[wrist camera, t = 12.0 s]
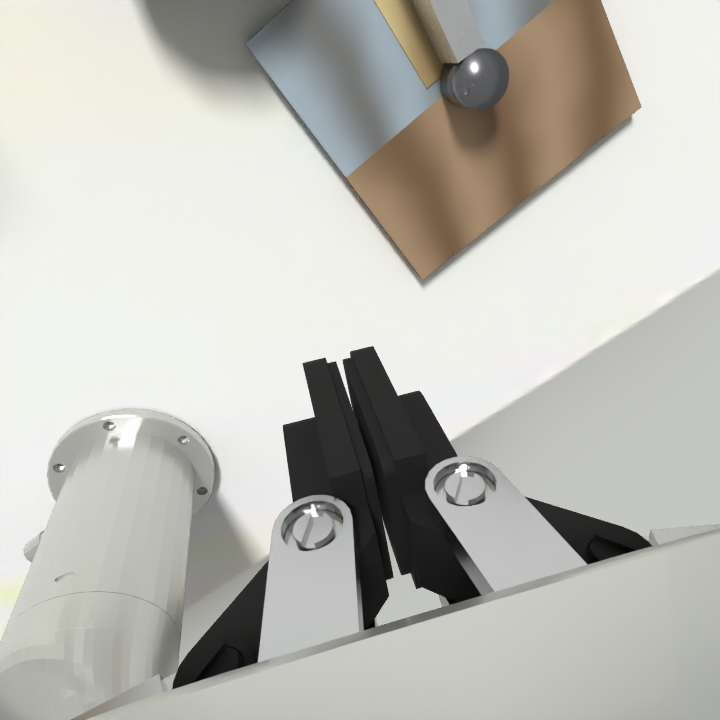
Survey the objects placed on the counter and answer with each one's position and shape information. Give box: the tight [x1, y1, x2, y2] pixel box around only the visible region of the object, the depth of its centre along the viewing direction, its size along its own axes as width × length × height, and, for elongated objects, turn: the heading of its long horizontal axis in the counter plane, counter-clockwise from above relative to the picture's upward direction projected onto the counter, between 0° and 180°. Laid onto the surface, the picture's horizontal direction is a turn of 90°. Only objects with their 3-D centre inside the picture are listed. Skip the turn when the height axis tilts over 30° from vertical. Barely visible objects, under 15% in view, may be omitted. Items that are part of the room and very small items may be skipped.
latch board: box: [245, 0, 641, 279], centre depth 34 cm, size 19×19×1 cm
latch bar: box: [411, 0, 509, 110], centre depth 30 cm, size 11×3×3 cm, turn 33°
